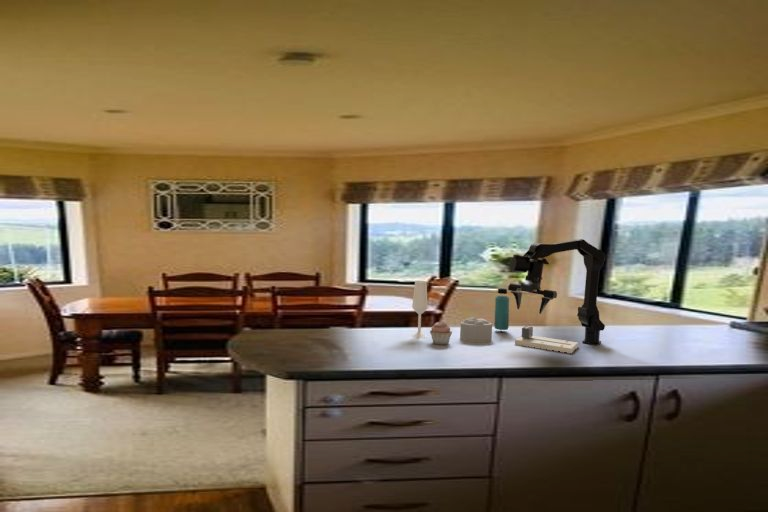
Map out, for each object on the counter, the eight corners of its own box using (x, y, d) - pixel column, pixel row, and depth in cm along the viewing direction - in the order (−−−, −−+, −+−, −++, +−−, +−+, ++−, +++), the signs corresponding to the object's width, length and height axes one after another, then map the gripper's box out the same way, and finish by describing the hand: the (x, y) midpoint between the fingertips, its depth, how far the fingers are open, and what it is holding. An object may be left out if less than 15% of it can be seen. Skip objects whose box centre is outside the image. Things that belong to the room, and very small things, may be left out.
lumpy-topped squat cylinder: (494, 341, 199) (495, 321, 198) (466, 342, 195) (466, 322, 195) (482, 335, 209) (483, 316, 208) (455, 336, 205) (456, 317, 205)
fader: (525, 335, 200) (525, 325, 200) (532, 336, 198) (532, 326, 198) (521, 337, 196) (522, 327, 196) (528, 338, 194) (529, 328, 194)
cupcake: (427, 340, 198) (428, 316, 197) (449, 340, 198) (450, 317, 198) (431, 346, 188) (432, 321, 188) (454, 346, 189) (455, 321, 188)
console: (524, 338, 204) (524, 334, 204) (577, 347, 192) (578, 342, 192) (515, 344, 194) (515, 339, 194) (571, 353, 182) (571, 348, 182)
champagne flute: (427, 338, 201) (429, 282, 200) (411, 337, 201) (413, 282, 200) (426, 334, 208) (427, 280, 206) (411, 334, 208) (412, 280, 206)
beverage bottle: (508, 333, 213) (510, 289, 212) (493, 332, 215) (495, 289, 213) (508, 330, 220) (509, 288, 218) (493, 329, 221) (495, 287, 220)
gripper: (505, 270, 193) (500, 307, 193) (551, 277, 181) (545, 317, 182) (515, 270, 202) (510, 306, 202) (560, 277, 190) (554, 315, 191)
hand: (529, 311), depth 194 cm, fingers open, 9 cm apart
